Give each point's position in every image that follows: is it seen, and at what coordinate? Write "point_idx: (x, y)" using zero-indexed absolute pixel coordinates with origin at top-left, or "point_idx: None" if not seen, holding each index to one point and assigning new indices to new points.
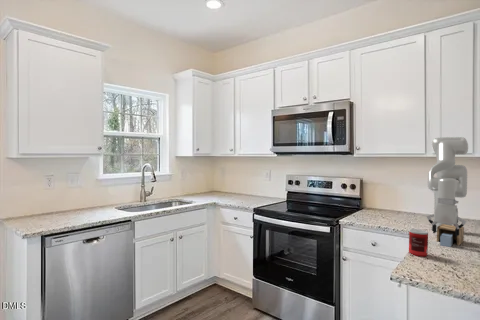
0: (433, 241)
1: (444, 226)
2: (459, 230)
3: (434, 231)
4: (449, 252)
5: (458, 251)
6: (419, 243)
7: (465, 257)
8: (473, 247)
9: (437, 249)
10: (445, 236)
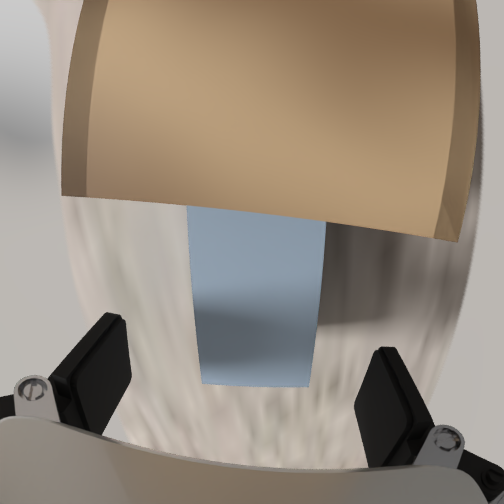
0: (138, 201)
1: (167, 7)
2: (459, 215)
3: (122, 389)
4: (295, 448)
5: (349, 401)
6: None
7: (363, 467)
8: (471, 178)
9: (227, 434)
10: (250, 354)
